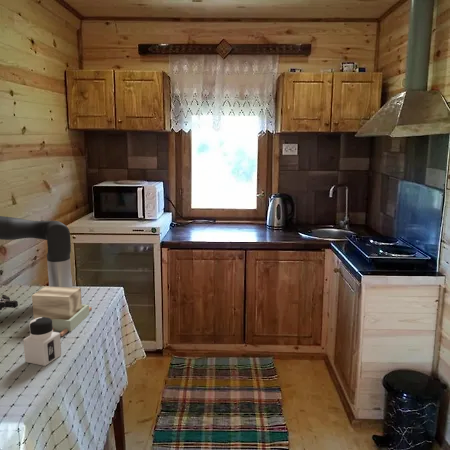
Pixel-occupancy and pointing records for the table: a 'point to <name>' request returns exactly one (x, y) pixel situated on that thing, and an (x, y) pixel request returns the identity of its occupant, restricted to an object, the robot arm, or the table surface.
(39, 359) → the container
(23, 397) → the table surface
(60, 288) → the ash block
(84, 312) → the grey-green piece
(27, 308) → the table surface
